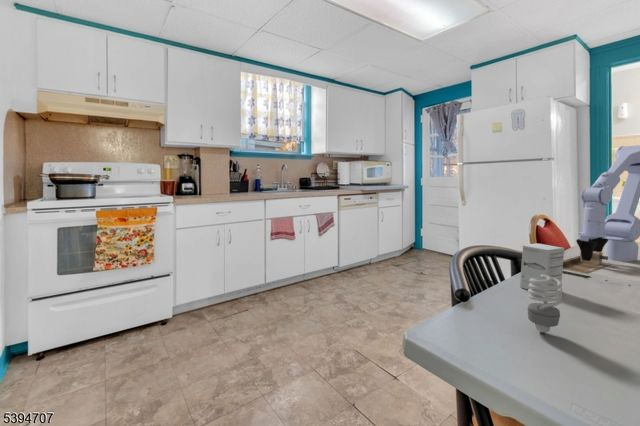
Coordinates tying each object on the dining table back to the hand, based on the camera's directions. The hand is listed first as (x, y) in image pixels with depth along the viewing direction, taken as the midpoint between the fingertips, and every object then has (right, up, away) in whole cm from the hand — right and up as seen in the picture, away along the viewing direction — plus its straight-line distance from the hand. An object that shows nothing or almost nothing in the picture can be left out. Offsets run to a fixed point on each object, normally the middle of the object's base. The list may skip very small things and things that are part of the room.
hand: (590, 259), depth 114 cm
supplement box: (-34, -6, -23) cm, 42 cm away
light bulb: (-52, -8, -49) cm, 72 cm away
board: (-5, -3, -3) cm, 7 cm away
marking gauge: (0, -1, 0) cm, 1 cm away
